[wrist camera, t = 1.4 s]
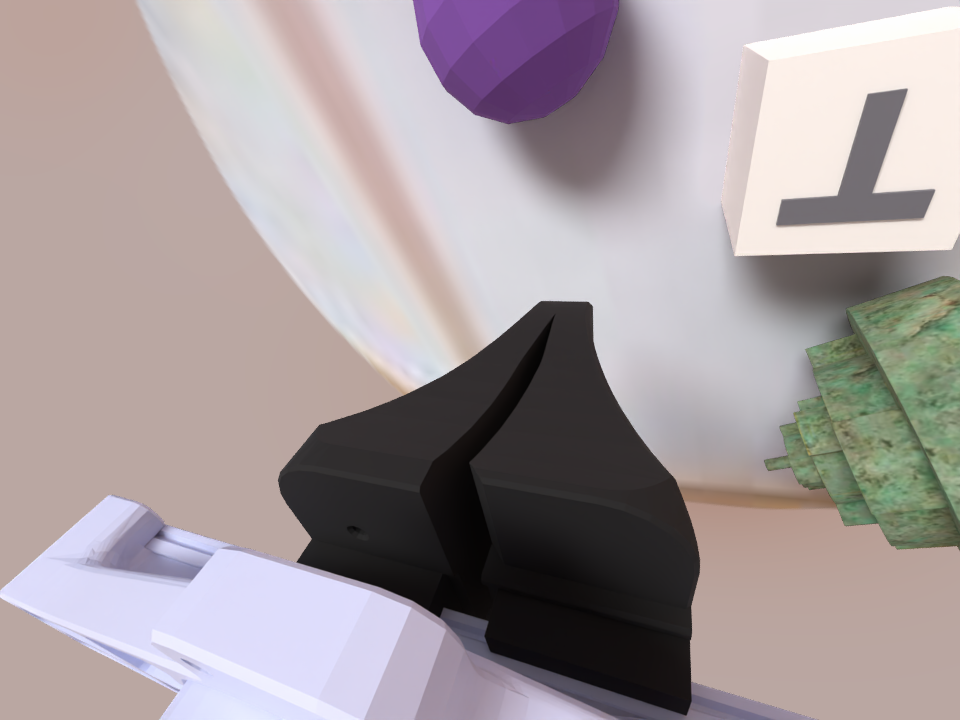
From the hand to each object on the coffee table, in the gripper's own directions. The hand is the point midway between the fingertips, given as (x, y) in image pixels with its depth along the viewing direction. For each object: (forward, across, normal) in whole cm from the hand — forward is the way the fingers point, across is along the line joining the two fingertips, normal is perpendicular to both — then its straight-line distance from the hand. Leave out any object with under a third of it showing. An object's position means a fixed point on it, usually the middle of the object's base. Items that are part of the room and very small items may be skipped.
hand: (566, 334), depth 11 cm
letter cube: (+10, -7, -2) cm, 12 cm away
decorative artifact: (+10, -10, +7) cm, 16 cm away
